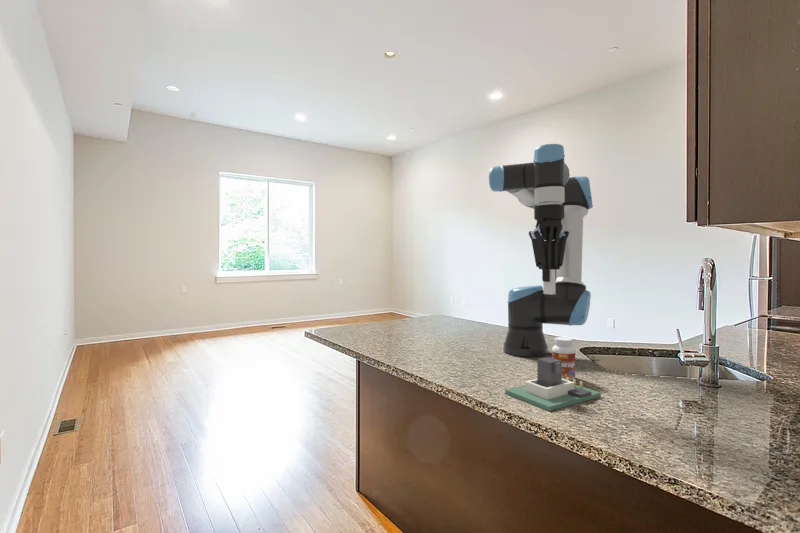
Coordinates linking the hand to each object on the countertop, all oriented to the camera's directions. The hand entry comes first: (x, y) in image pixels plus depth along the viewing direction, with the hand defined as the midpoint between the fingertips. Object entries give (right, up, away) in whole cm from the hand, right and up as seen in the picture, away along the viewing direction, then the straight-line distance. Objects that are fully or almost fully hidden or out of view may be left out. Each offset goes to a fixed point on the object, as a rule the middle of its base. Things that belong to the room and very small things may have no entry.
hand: (549, 293), depth 114 cm
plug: (-3, -24, -8) cm, 25 cm away
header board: (-2, -25, -7) cm, 26 cm away
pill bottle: (+7, -24, +7) cm, 26 cm away
